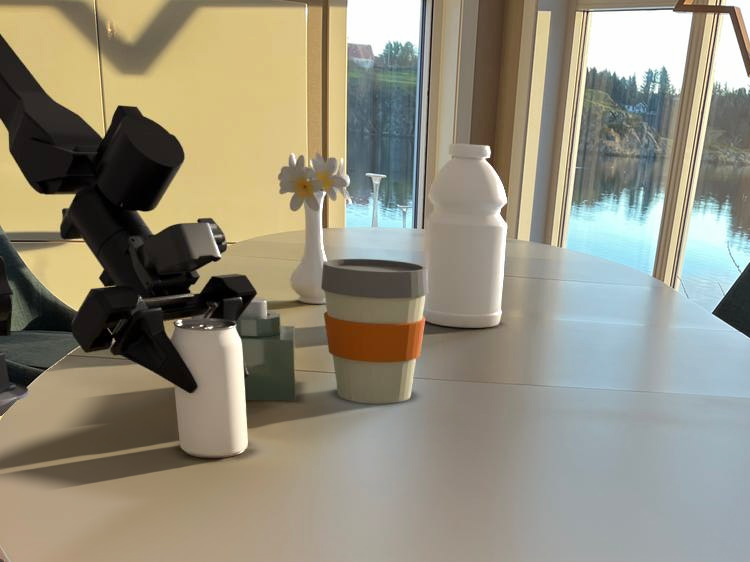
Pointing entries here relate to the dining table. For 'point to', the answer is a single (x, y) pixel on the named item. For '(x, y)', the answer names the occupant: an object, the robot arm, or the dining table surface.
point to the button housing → (268, 358)
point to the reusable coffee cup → (374, 326)
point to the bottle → (465, 242)
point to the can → (211, 388)
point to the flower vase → (312, 217)
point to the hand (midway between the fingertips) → (220, 384)
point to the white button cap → (256, 308)
